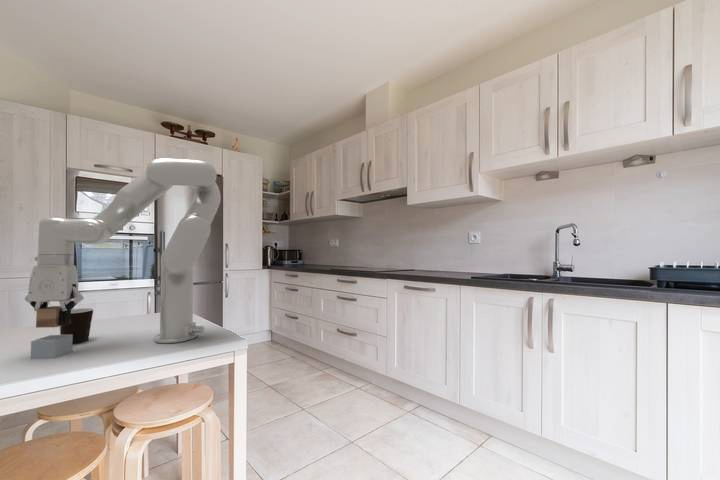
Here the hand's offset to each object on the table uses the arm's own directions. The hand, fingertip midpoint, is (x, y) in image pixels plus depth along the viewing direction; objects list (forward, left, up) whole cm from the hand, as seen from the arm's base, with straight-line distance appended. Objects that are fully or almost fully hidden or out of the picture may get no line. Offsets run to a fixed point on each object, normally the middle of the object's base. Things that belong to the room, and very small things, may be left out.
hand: (53, 323), depth 89 cm
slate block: (0, 0, -9) cm, 9 cm away
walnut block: (0, 0, -1) cm, 1 cm away
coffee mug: (+4, -14, -9) cm, 17 cm away
